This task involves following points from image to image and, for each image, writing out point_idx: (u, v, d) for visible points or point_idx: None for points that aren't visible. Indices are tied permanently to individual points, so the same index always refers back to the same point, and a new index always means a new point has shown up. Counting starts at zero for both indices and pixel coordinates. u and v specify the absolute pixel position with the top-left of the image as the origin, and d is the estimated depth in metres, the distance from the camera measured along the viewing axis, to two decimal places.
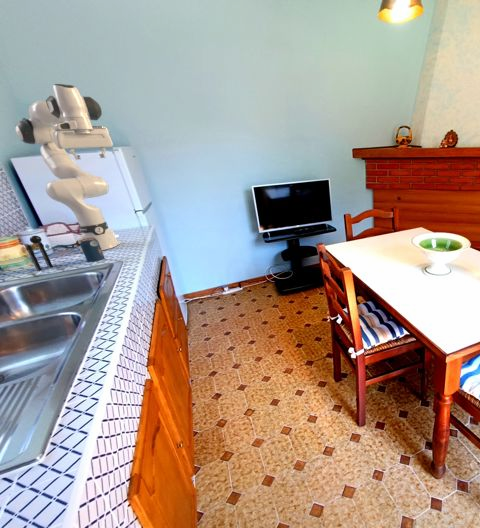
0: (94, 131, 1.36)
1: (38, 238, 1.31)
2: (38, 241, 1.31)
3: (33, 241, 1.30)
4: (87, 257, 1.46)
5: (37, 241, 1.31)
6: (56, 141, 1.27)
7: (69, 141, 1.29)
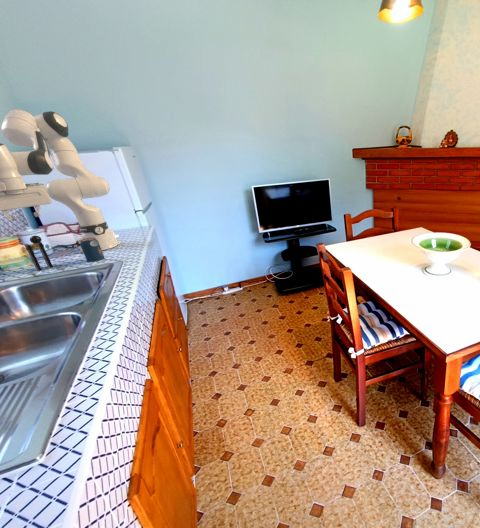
0: (28, 190, 1.26)
1: (38, 238, 1.31)
2: (38, 241, 1.31)
3: (33, 241, 1.30)
4: (87, 257, 1.46)
5: (37, 241, 1.31)
6: None
7: None
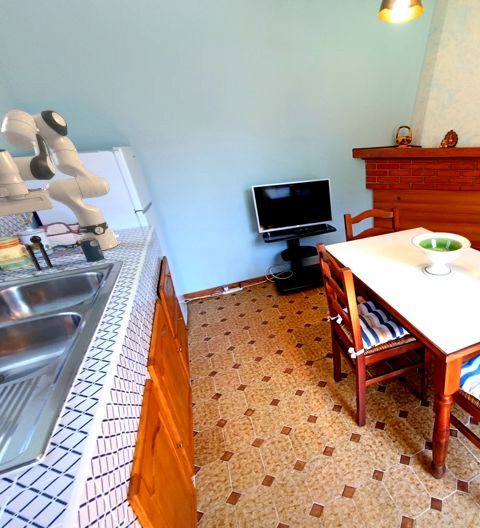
0: (30, 195, 1.27)
1: (38, 238, 1.31)
2: (38, 241, 1.31)
3: (33, 241, 1.30)
4: (87, 257, 1.46)
5: (37, 241, 1.31)
6: None
7: (0, 209, 1.21)
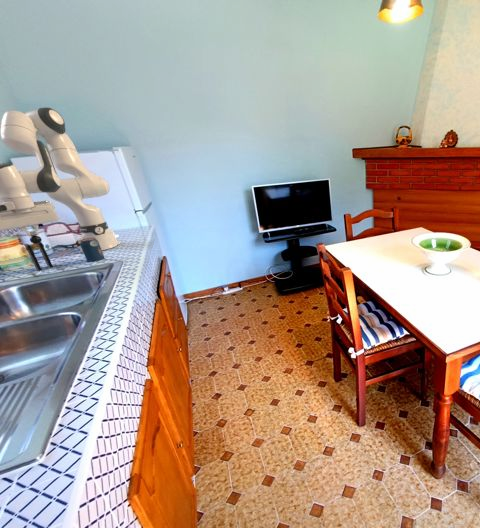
0: (36, 208, 1.29)
1: (38, 238, 1.31)
2: (38, 241, 1.31)
3: (33, 241, 1.30)
4: (87, 257, 1.46)
5: (37, 241, 1.31)
6: None
7: (7, 222, 1.23)
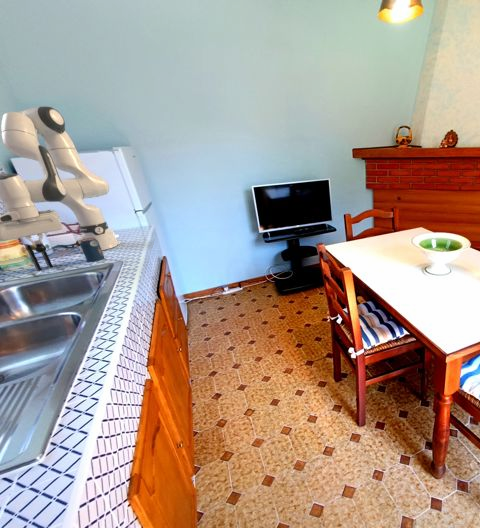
0: (41, 217, 1.30)
1: (44, 248, 1.32)
2: (43, 251, 1.33)
3: (38, 251, 1.31)
4: (87, 257, 1.46)
5: (42, 251, 1.32)
6: None
7: (12, 232, 1.23)
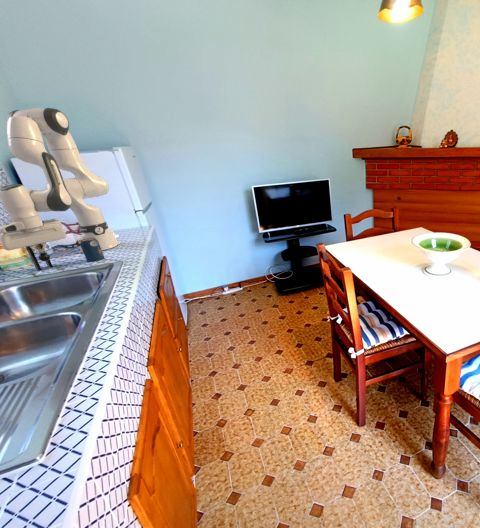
0: (44, 226, 1.32)
1: (48, 259, 1.35)
2: (47, 260, 1.35)
3: (42, 260, 1.34)
4: (87, 257, 1.46)
5: (46, 260, 1.35)
6: (2, 244, 1.23)
7: (16, 241, 1.25)
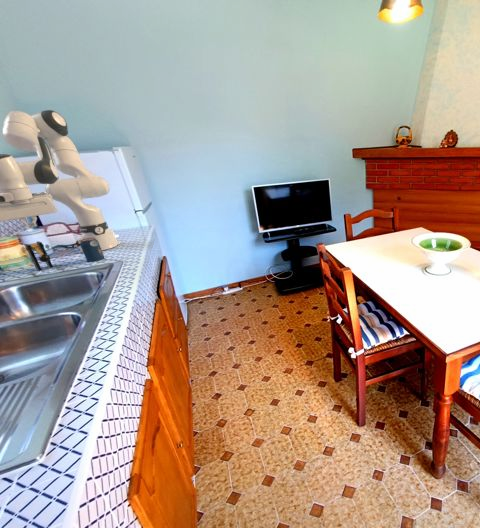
0: (34, 199, 1.29)
1: (48, 260, 1.35)
2: (47, 261, 1.35)
3: (42, 261, 1.34)
4: (87, 257, 1.46)
5: (46, 261, 1.35)
6: None
7: (5, 213, 1.23)
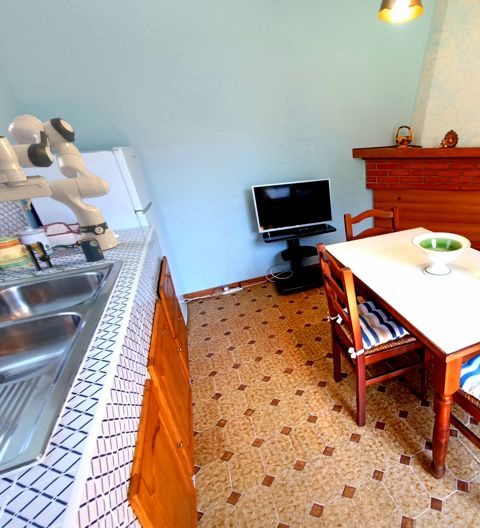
0: (29, 182, 1.28)
1: (48, 260, 1.35)
2: (47, 261, 1.35)
3: (42, 261, 1.34)
4: (87, 257, 1.46)
5: (46, 261, 1.35)
6: None
7: None
